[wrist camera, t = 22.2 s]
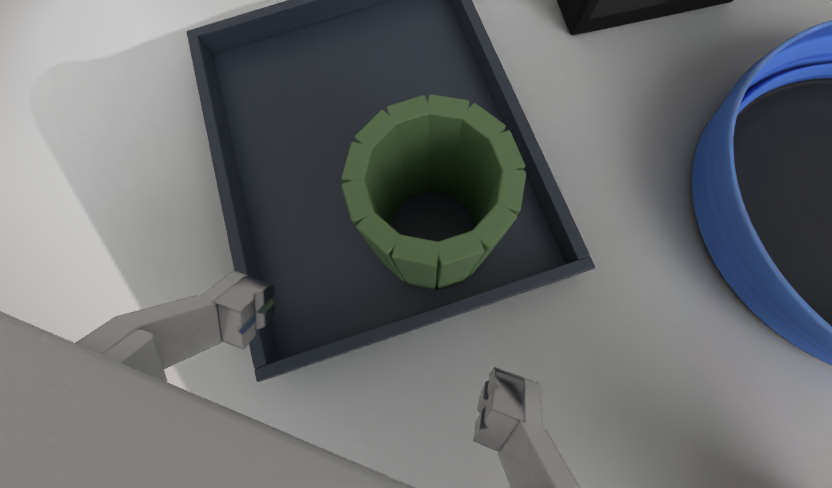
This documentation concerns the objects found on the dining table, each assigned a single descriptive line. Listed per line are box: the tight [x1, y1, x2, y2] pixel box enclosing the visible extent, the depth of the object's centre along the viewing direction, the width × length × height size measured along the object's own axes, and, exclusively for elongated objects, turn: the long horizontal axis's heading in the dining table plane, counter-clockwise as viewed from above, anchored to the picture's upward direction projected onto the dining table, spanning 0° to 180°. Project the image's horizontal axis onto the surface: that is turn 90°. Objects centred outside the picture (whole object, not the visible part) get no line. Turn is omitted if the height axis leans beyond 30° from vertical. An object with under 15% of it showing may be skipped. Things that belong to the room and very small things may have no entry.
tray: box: [187, 0, 595, 382], centre depth 19 cm, size 20×16×2 cm
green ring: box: [342, 95, 526, 290], centre depth 15 cm, size 6×6×7 cm
